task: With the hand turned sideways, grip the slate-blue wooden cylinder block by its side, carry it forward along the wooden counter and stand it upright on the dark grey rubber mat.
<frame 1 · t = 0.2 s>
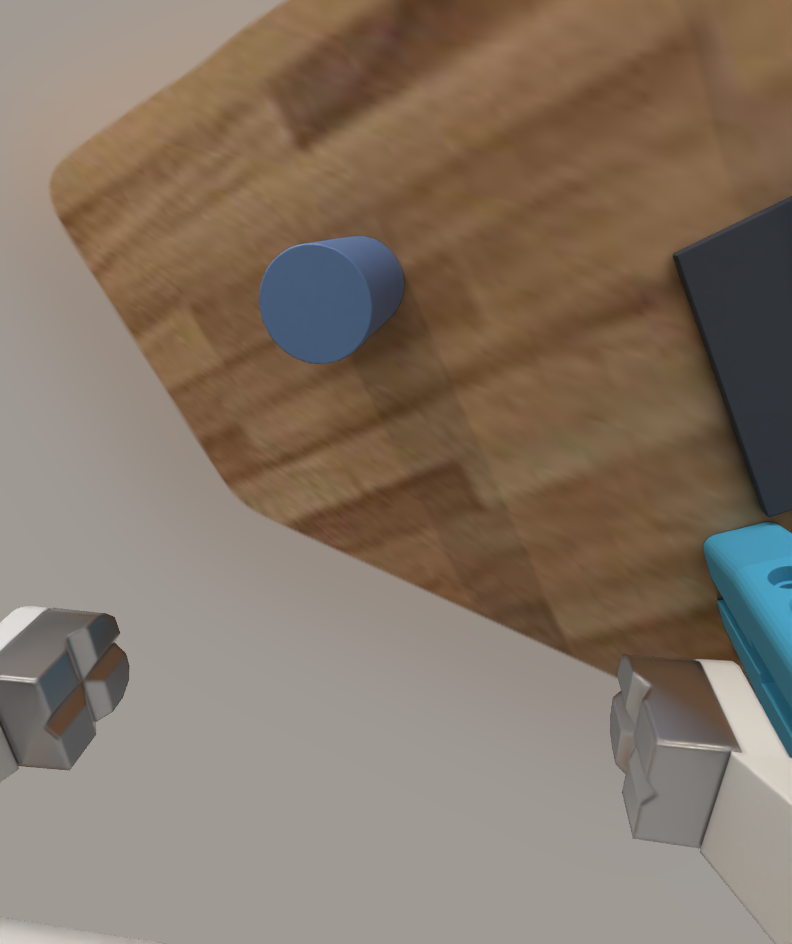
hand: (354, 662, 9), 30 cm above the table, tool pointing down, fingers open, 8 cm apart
block: (750, 577, 41), on the table
cylinder block: (360, 283, 37), on the table
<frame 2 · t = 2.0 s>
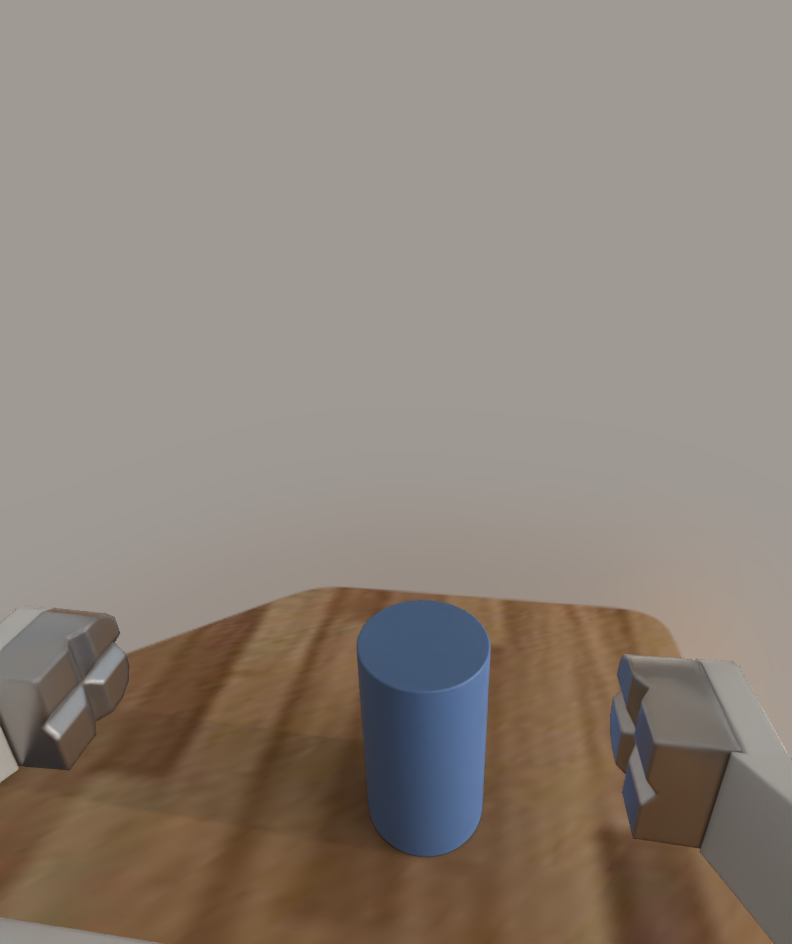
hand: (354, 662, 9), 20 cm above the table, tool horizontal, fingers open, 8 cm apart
cylinder block: (425, 799, 28), on the table
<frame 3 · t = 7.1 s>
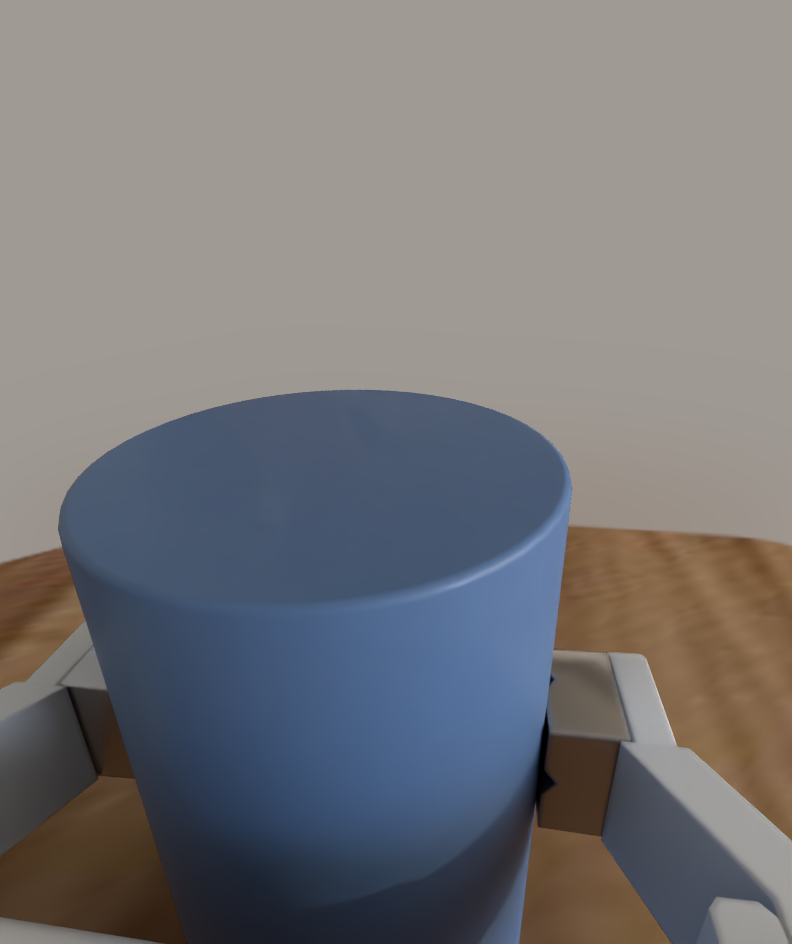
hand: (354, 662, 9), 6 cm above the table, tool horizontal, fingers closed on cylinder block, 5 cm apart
cylinder block: (364, 939, 11), on the table, touching gripper
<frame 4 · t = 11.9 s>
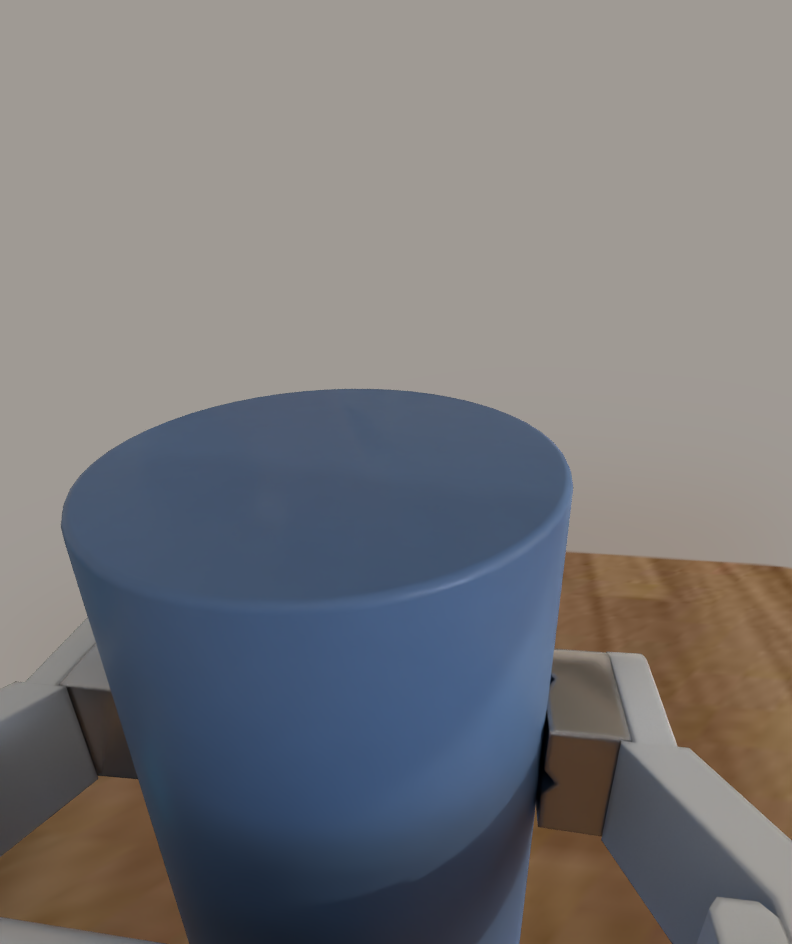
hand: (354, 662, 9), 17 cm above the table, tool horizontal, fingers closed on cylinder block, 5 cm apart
cylinder block: (365, 937, 11), point 11 cm above the table, touching gripper
when the fingers open (7 cm above the table, at t = 16.6 s): cylinder block stays where it is, resting on mat.
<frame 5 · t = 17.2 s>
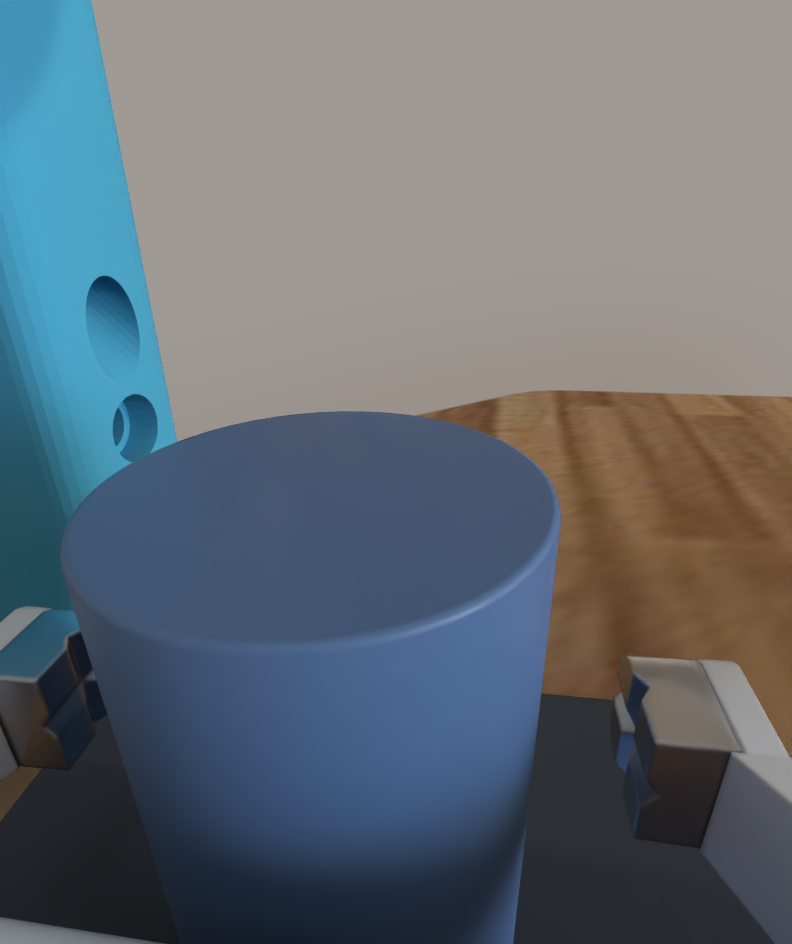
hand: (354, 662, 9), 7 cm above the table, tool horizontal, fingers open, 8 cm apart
block: (42, 630, 22), on the table
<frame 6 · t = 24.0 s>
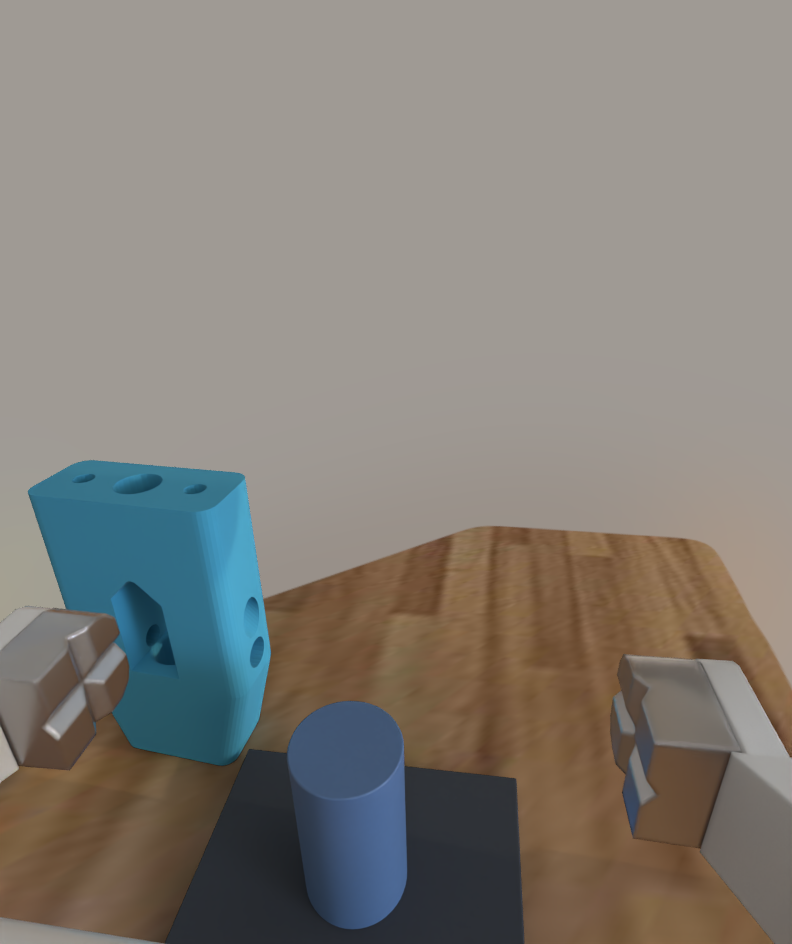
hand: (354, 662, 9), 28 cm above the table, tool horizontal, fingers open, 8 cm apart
block: (196, 729, 43), on the table
cylinder block: (356, 872, 32), point 1 cm above the table, touching mat
mat: (357, 883, 32), on the table
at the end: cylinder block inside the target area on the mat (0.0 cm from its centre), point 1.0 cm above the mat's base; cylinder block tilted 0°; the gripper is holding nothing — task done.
